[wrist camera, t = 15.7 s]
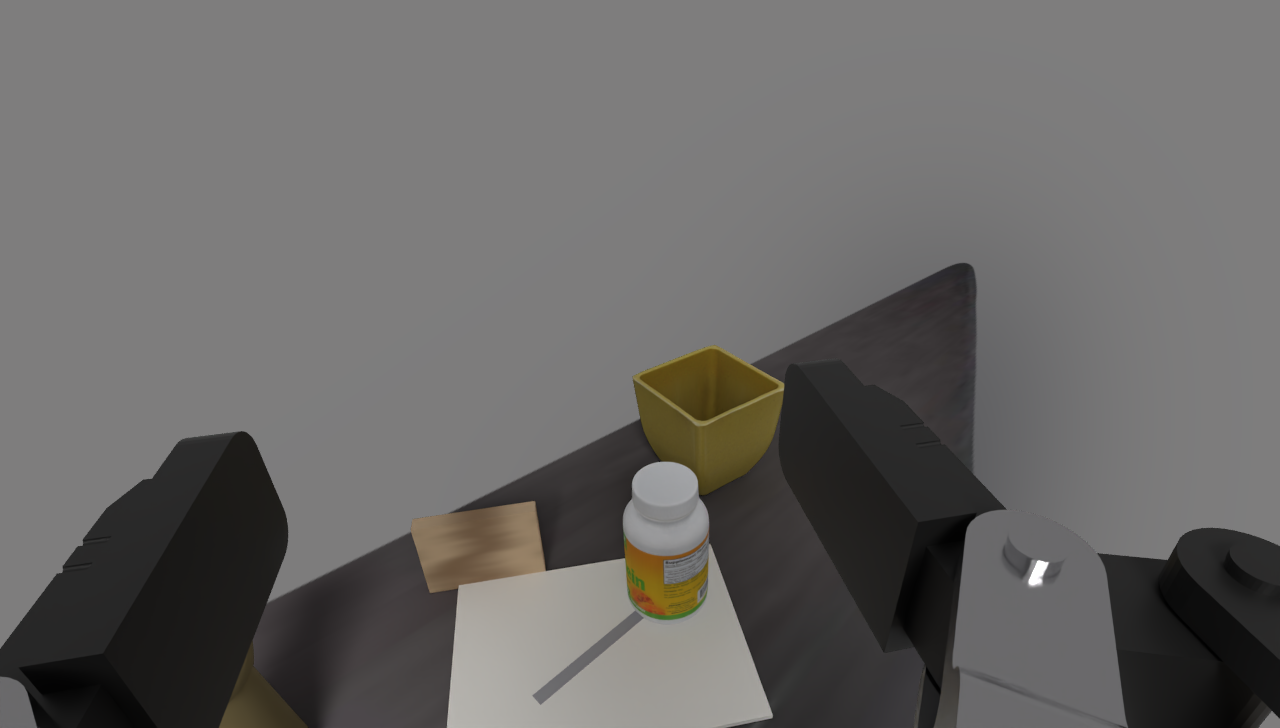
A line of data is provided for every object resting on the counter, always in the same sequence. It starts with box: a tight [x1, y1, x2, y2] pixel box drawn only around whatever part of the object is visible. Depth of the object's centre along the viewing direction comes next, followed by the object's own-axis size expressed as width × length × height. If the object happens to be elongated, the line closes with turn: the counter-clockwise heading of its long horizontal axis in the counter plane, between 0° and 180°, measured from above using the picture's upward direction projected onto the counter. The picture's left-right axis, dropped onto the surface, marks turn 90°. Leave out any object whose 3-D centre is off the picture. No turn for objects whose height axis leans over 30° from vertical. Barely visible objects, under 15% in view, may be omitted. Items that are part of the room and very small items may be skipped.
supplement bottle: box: [623, 462, 709, 624], centre depth 41 cm, size 5×5×10 cm
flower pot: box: [633, 345, 784, 495], centre depth 52 cm, size 9×9×9 cm
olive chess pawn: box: [219, 641, 309, 728], centre depth 32 cm, size 6×6×11 cm
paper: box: [447, 544, 773, 728], centre depth 40 cm, size 18×13×1 cm
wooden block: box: [411, 501, 546, 593], centre depth 44 cm, size 8×1×6 cm, turn 100°
